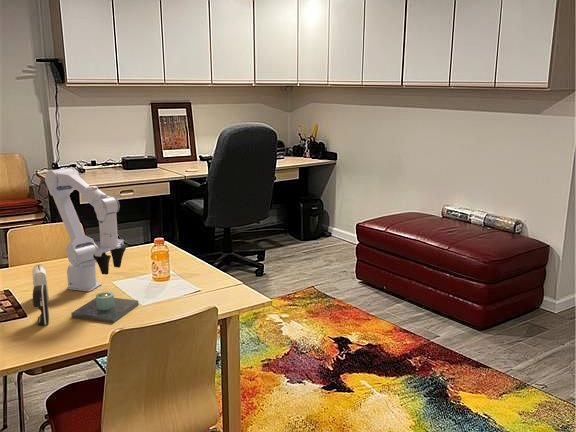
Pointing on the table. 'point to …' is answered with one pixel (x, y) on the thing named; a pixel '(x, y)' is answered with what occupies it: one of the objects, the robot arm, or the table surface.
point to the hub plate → (109, 315)
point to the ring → (105, 301)
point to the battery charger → (41, 303)
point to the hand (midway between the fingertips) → (111, 270)
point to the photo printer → (40, 277)
